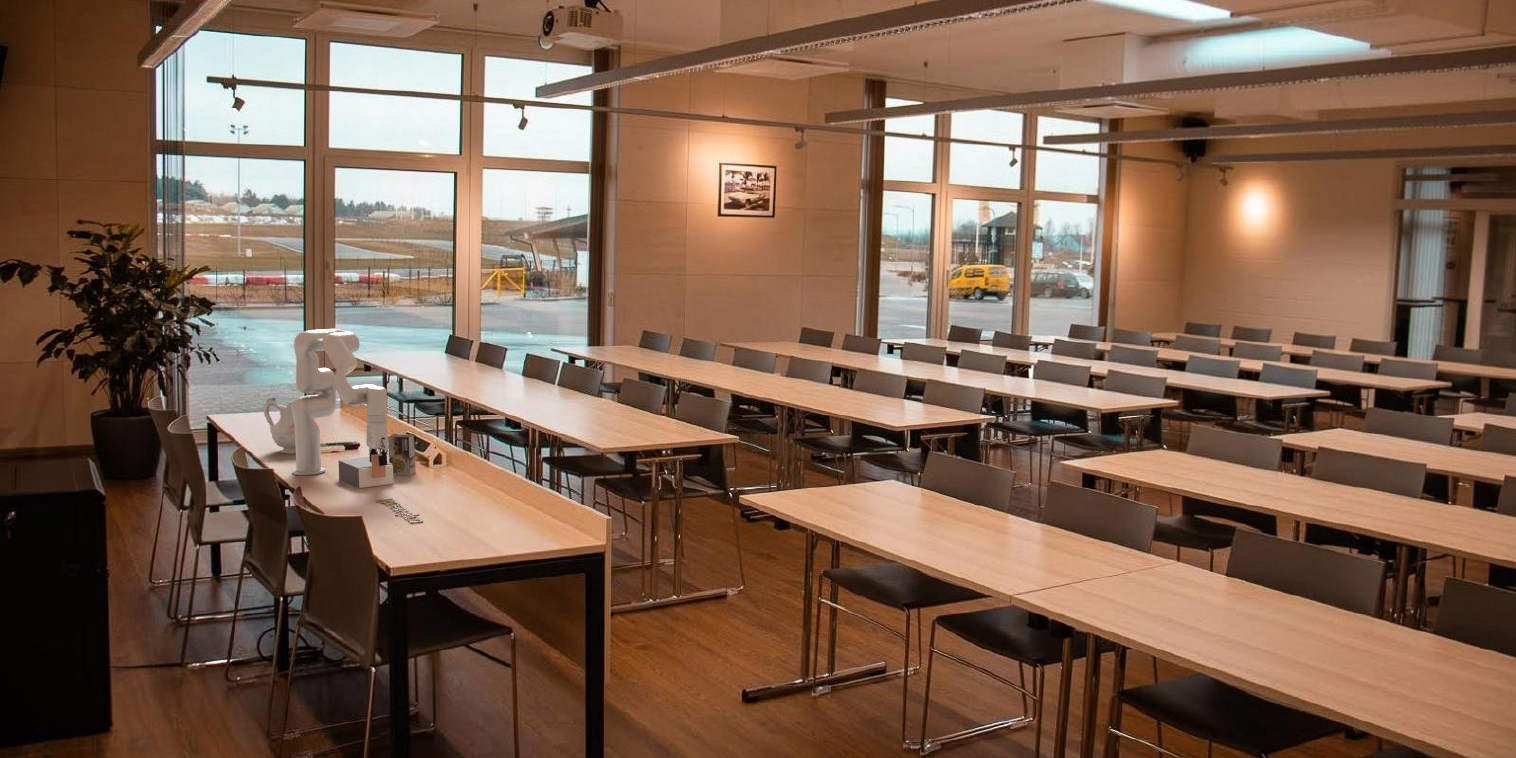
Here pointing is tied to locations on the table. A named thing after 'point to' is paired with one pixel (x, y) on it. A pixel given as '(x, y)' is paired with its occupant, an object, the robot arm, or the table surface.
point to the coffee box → (402, 453)
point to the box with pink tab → (375, 474)
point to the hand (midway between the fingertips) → (378, 463)
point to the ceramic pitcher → (282, 426)
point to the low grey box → (353, 470)
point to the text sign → (393, 505)
